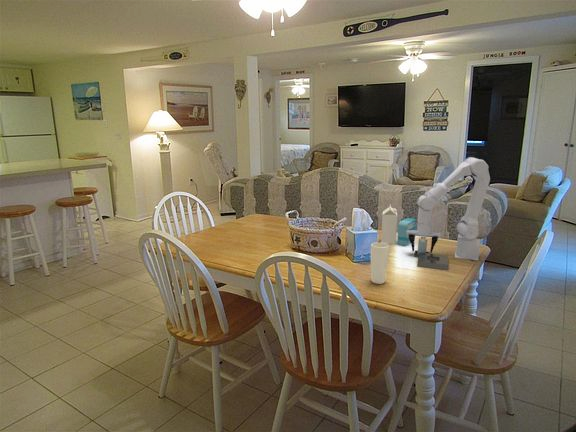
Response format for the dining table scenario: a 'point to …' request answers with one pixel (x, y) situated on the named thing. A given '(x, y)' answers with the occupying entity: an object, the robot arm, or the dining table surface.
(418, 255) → the square shadow box
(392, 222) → the milk carton
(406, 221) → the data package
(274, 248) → the dining table surface
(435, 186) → the robot arm
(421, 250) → the plug
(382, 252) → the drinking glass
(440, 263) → the port block
